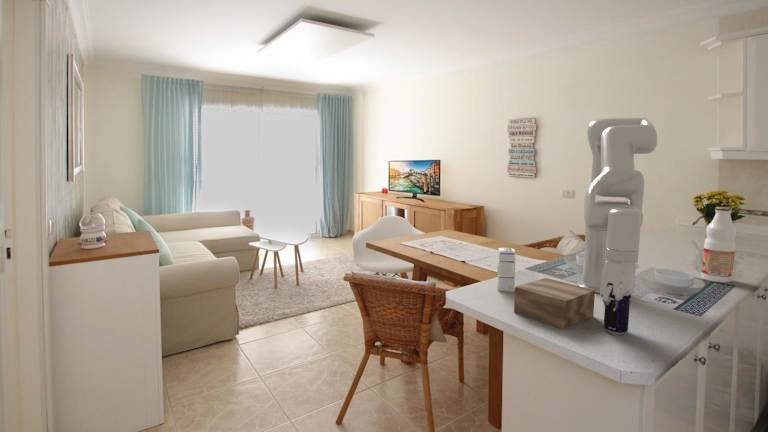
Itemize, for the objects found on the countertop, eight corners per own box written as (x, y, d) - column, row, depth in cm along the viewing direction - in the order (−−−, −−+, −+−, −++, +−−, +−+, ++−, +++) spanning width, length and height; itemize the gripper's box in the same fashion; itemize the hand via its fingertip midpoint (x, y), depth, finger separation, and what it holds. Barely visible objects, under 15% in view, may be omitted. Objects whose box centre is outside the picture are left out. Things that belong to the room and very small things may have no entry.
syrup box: (514, 292, 147) (516, 251, 145) (497, 291, 148) (498, 250, 146) (513, 287, 152) (514, 247, 150) (496, 286, 153) (497, 247, 151)
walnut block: (544, 301, 137) (545, 277, 136) (593, 316, 124) (595, 290, 123) (514, 312, 127) (515, 286, 126) (563, 329, 114) (565, 301, 113)
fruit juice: (717, 283, 156) (726, 209, 153) (694, 277, 166) (701, 206, 162) (738, 282, 158) (746, 208, 155) (713, 275, 168) (721, 205, 164)
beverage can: (605, 325, 117) (608, 283, 116) (628, 330, 114) (632, 287, 112) (602, 332, 112) (605, 289, 111) (626, 337, 109) (630, 293, 108)
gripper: (621, 248, 118) (616, 310, 121) (590, 257, 108) (586, 324, 111) (650, 253, 113) (645, 318, 115) (621, 262, 102) (615, 333, 105)
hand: (616, 320), depth 113 cm, fingers closed on beverage can, 5 cm apart
